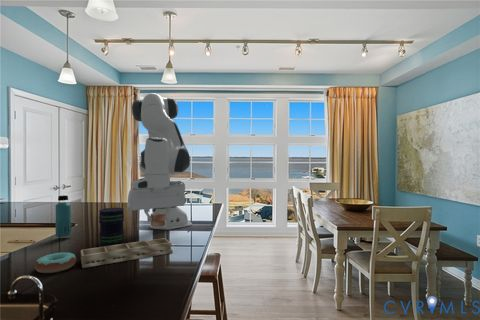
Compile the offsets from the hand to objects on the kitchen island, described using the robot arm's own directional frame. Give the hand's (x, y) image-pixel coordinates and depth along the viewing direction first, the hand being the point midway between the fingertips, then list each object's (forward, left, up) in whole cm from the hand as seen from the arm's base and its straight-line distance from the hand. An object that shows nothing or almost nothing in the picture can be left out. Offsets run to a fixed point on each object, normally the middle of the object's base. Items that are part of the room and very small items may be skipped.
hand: (157, 220), depth 106 cm
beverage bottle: (+29, -54, -15) cm, 63 cm away
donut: (+31, -11, -15) cm, 36 cm away
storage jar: (+11, -32, -15) cm, 37 cm away
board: (+8, -12, -14) cm, 20 cm away
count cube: (0, 0, -2) cm, 2 cm away
